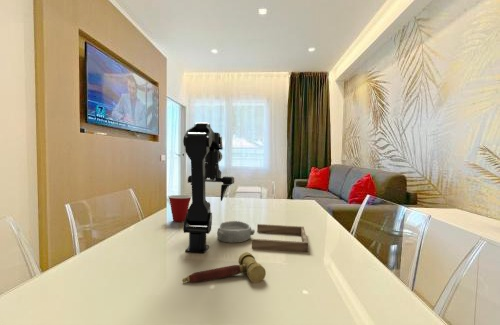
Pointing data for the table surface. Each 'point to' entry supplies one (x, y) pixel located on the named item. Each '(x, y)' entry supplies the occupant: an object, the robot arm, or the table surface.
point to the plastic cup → (179, 206)
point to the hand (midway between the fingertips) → (210, 200)
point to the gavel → (232, 271)
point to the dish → (234, 231)
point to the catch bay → (278, 243)
